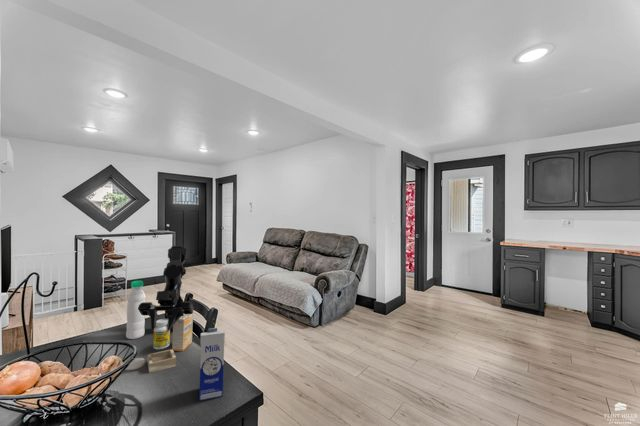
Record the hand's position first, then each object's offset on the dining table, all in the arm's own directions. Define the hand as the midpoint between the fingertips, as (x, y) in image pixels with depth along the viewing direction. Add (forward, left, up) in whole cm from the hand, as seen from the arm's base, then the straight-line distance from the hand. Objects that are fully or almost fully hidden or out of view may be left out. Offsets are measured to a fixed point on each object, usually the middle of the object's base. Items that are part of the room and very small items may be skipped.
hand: (160, 330), depth 105 cm
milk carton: (+26, +12, -13) cm, 32 cm away
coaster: (-5, -8, -13) cm, 16 cm away
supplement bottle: (-1, +1, -7) cm, 7 cm away
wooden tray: (-1, +1, -13) cm, 13 cm away
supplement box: (-12, +10, -13) cm, 21 cm away
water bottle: (-34, -6, -13) cm, 37 cm away
